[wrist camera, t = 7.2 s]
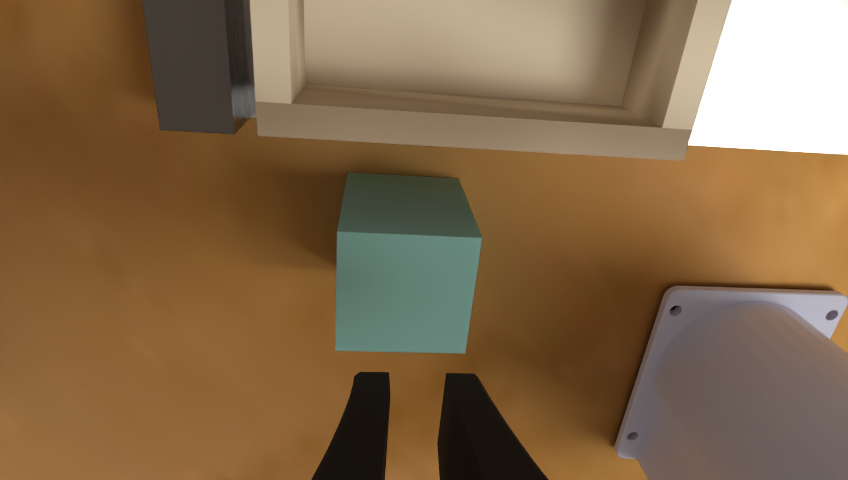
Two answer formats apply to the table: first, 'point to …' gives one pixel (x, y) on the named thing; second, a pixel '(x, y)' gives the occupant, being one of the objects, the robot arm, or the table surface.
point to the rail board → (716, 120)
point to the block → (405, 264)
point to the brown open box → (487, 72)
